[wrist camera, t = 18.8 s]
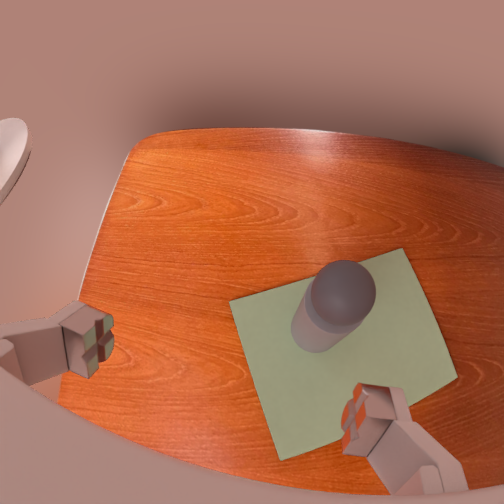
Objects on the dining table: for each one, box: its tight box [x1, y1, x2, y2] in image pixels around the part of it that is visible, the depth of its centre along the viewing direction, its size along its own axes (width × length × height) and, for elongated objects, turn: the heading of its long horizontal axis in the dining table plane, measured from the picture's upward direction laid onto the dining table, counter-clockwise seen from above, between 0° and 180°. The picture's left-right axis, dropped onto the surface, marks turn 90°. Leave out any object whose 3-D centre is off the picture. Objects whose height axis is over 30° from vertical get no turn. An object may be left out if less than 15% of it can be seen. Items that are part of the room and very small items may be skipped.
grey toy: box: [291, 260, 376, 353], centre depth 24 cm, size 5×5×12 cm
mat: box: [229, 248, 457, 461], centre depth 29 cm, size 20×16×1 cm
